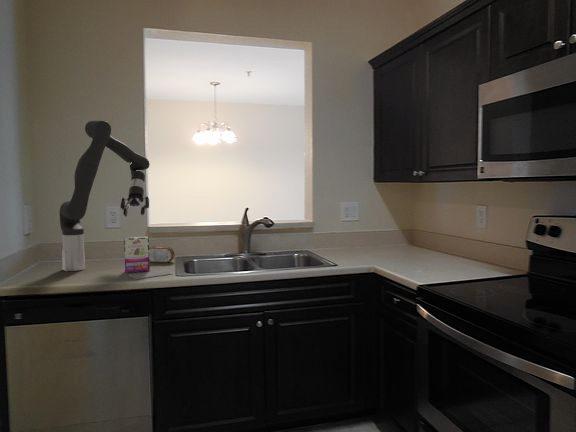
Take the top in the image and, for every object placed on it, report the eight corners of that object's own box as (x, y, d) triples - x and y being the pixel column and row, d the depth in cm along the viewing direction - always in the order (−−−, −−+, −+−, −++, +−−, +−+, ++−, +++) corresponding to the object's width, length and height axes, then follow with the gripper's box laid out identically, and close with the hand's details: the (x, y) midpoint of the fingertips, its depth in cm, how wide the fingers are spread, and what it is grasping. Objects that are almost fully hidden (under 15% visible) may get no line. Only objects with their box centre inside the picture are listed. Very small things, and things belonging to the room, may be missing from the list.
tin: (174, 262, 223) (174, 246, 223) (172, 263, 220) (172, 247, 219) (147, 261, 225) (147, 245, 224) (145, 262, 222) (145, 246, 221)
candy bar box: (148, 269, 204) (148, 236, 203) (149, 271, 199) (149, 237, 198) (124, 271, 199) (123, 237, 198) (124, 273, 195) (123, 238, 194)
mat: (135, 279, 182) (135, 278, 182) (128, 275, 189) (128, 275, 189) (172, 274, 193) (172, 273, 193) (163, 270, 200) (163, 270, 200)
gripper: (121, 186, 222) (117, 212, 214) (148, 184, 222) (145, 210, 214) (125, 193, 228) (122, 219, 220) (152, 192, 229) (149, 217, 221)
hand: (133, 215), depth 217 cm, fingers open, 8 cm apart
